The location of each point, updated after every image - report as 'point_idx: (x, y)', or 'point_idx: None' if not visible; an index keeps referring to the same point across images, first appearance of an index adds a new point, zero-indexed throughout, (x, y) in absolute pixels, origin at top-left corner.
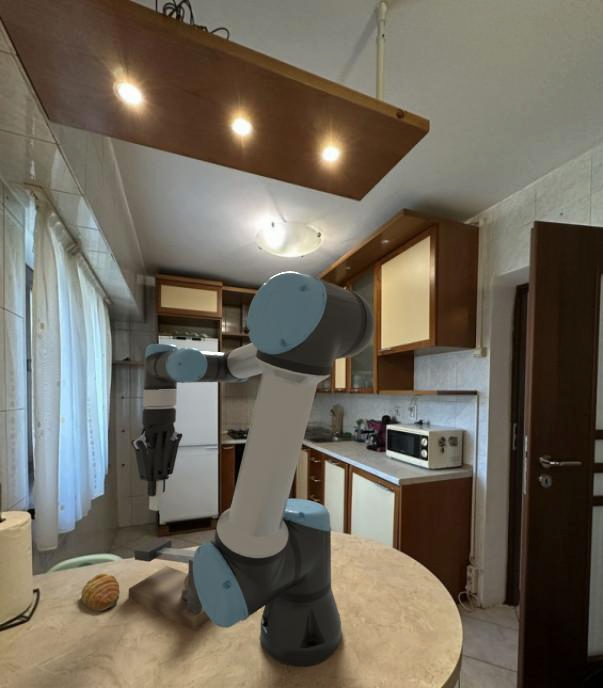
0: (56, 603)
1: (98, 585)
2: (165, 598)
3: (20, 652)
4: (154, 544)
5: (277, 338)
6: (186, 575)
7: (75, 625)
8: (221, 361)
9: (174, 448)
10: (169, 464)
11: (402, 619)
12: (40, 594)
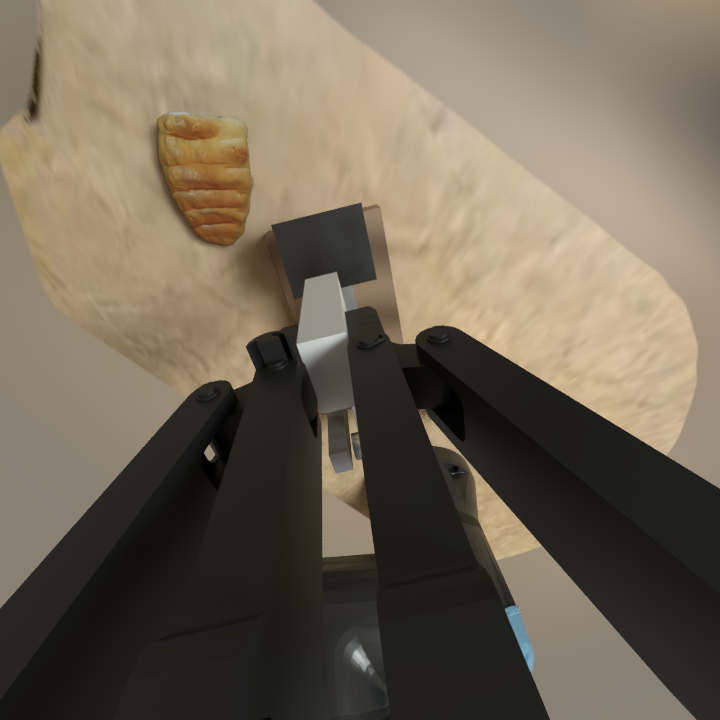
0: (97, 85)
1: (190, 180)
2: None
3: (52, 242)
4: (331, 251)
5: None
6: (387, 292)
7: (152, 239)
8: None
9: (611, 612)
10: (460, 442)
11: (501, 528)
12: None
